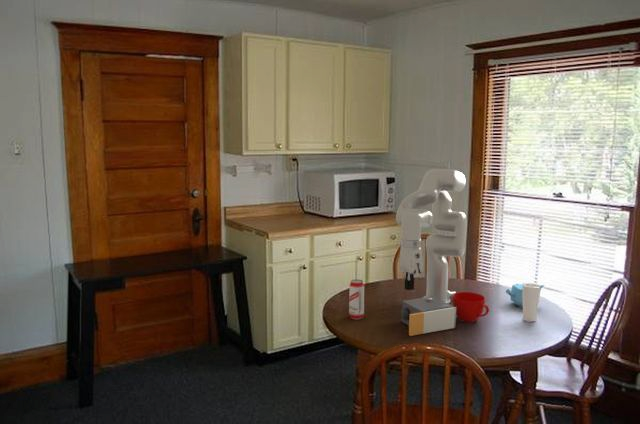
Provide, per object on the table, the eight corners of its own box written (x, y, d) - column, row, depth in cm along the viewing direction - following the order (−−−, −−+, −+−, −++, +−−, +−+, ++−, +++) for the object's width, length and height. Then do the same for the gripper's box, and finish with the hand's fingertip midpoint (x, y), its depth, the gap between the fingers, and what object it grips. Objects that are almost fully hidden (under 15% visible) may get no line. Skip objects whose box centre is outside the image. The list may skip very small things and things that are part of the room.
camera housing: (431, 316, 231) (432, 294, 229) (452, 327, 218) (453, 304, 217) (398, 322, 224) (399, 299, 223) (418, 333, 212) (418, 309, 210)
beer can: (355, 313, 234) (356, 278, 232) (366, 317, 230) (367, 281, 227) (346, 317, 230) (346, 281, 227) (357, 321, 225) (357, 284, 223)
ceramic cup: (476, 330, 215) (477, 306, 214) (445, 317, 230) (446, 295, 228) (498, 324, 222) (499, 300, 221) (466, 312, 236) (467, 290, 235)
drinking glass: (530, 323, 222) (532, 288, 220) (517, 318, 228) (519, 284, 226) (541, 321, 226) (544, 286, 223) (528, 316, 231) (530, 282, 229)
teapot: (511, 310, 239) (512, 288, 237) (498, 300, 253) (499, 279, 251) (550, 309, 241) (551, 287, 239) (535, 299, 254) (536, 278, 253)
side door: (454, 326, 218) (454, 306, 217) (456, 327, 217) (456, 307, 216) (408, 335, 210) (409, 314, 208) (410, 336, 208) (411, 315, 207)
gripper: (430, 246, 204) (428, 293, 207) (408, 239, 218) (406, 283, 220) (413, 248, 201) (411, 295, 204) (392, 240, 215) (391, 285, 217)
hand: (409, 289), depth 212 cm, fingers closed
